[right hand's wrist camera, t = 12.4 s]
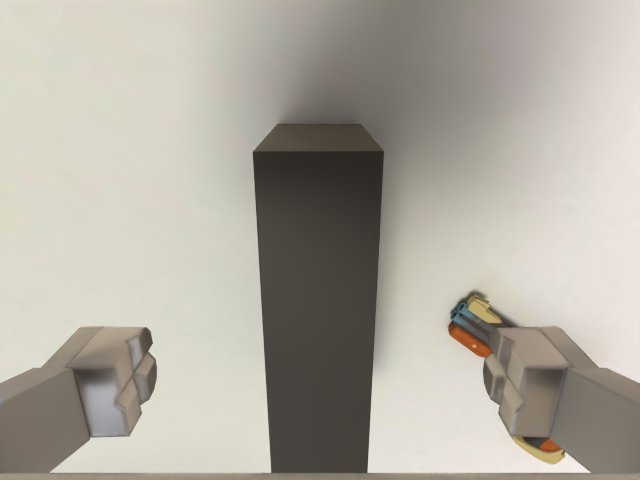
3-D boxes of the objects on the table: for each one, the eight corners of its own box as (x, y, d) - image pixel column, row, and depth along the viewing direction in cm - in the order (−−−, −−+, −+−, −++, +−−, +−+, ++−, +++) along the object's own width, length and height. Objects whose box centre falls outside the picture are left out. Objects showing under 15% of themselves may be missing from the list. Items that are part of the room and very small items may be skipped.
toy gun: (555, 475, 41) (644, 418, 37) (400, 374, 39) (478, 301, 35) (545, 451, 44) (628, 395, 40) (399, 355, 41) (471, 284, 37)
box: (276, 124, 32) (252, 151, 20) (360, 124, 32) (384, 151, 20) (286, 372, 40) (272, 491, 29) (352, 371, 40) (366, 491, 28)
